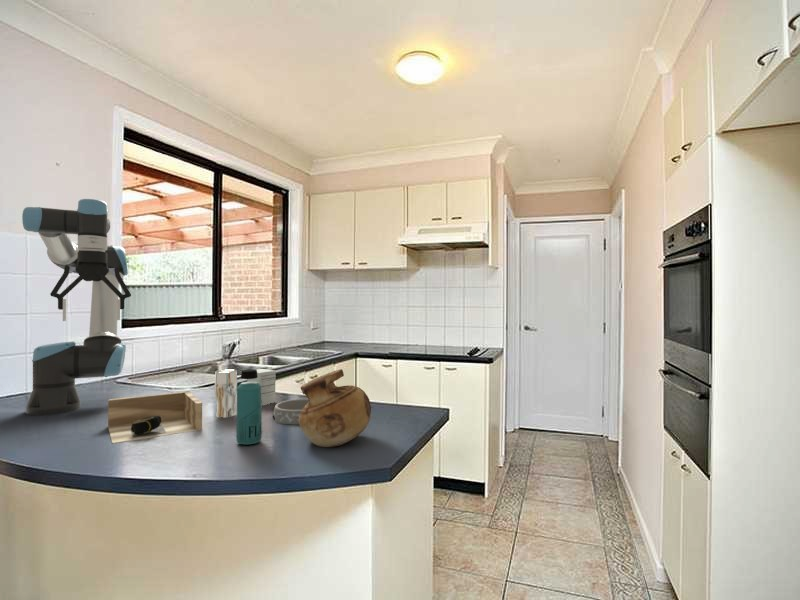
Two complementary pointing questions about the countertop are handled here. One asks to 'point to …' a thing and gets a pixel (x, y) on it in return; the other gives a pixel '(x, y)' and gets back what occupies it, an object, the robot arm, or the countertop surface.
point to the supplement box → (266, 385)
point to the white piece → (225, 392)
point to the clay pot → (333, 411)
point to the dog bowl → (289, 411)
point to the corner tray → (173, 409)
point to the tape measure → (146, 424)
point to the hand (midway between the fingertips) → (92, 320)
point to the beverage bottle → (249, 409)
